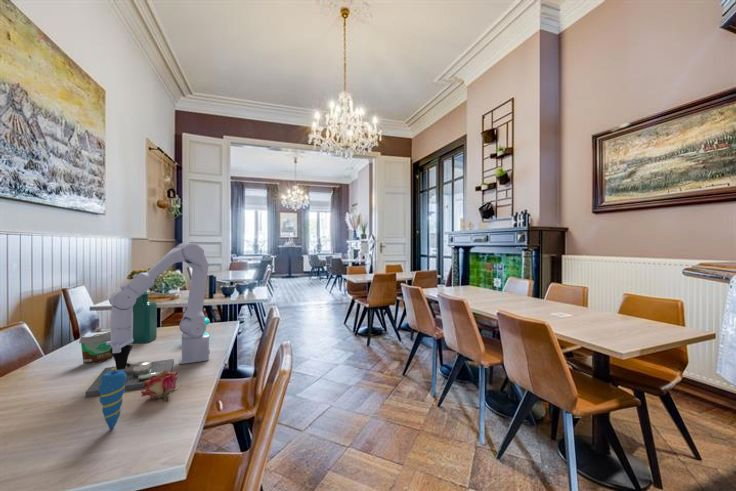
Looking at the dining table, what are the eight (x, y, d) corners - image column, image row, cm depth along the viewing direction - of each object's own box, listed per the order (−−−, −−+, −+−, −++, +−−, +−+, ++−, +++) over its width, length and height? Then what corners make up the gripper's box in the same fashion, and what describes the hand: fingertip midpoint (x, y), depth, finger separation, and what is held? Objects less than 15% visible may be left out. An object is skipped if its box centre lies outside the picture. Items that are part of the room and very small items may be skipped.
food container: (92, 366, 114) (92, 338, 114) (78, 365, 116) (79, 337, 116) (125, 355, 126) (125, 329, 126) (112, 353, 128) (112, 328, 128)
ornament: (108, 423, 78) (109, 361, 78) (131, 422, 79) (131, 361, 79) (92, 436, 73) (93, 370, 73) (116, 435, 73) (117, 369, 73)
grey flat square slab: (173, 363, 118) (173, 354, 118) (167, 384, 100) (168, 374, 100) (105, 372, 109) (105, 363, 109) (85, 397, 91) (85, 386, 91)
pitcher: (138, 338, 149) (139, 290, 149) (158, 337, 150) (158, 290, 150) (125, 344, 139) (125, 293, 139) (146, 344, 140) (146, 293, 140)
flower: (191, 390, 93) (183, 364, 95) (162, 397, 84) (154, 368, 87) (167, 406, 94) (159, 380, 97) (136, 414, 86) (129, 386, 88)
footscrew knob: (155, 370, 107) (155, 361, 107) (140, 376, 102) (140, 367, 102) (125, 366, 111) (125, 357, 111) (109, 371, 106) (109, 362, 106)
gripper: (112, 323, 110) (111, 363, 110) (100, 333, 97) (99, 379, 97) (137, 321, 113) (136, 360, 113) (128, 331, 100) (128, 375, 100)
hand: (121, 368), depth 105 cm, fingers closed, pressing on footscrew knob
